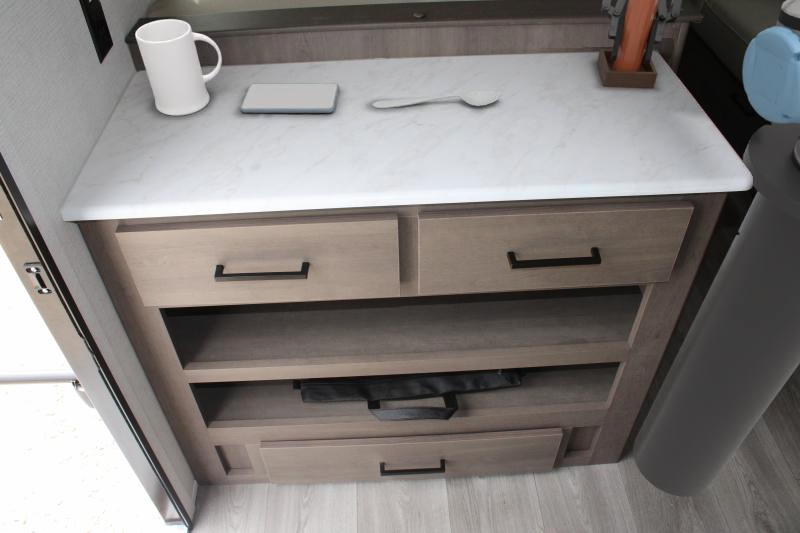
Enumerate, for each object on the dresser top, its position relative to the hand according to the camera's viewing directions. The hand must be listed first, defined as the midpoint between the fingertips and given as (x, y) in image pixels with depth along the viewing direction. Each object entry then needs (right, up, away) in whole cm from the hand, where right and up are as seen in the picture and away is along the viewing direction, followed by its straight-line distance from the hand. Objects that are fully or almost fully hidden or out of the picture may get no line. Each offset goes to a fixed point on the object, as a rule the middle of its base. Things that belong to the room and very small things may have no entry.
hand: (630, 60), depth 102 cm
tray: (+1, -1, +6) cm, 6 cm away
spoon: (-31, -7, 0) cm, 32 cm away
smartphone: (-55, -6, +1) cm, 55 cm away
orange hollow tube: (+1, 0, +5) cm, 6 cm away
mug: (-71, -6, +1) cm, 71 cm away
